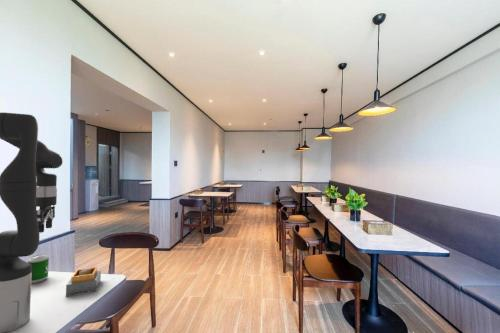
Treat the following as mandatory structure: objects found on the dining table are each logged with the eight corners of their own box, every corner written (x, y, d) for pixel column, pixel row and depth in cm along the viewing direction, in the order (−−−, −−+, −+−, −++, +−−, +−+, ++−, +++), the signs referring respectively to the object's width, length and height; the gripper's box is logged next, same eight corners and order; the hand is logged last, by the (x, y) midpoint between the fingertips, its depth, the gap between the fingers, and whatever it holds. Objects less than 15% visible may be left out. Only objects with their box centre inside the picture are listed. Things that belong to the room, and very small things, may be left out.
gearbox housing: (95, 291, 101) (96, 274, 101) (65, 296, 97) (66, 279, 97) (100, 280, 111) (101, 265, 111) (73, 285, 107) (74, 269, 107)
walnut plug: (89, 289, 103) (89, 271, 103) (77, 291, 101) (78, 273, 101) (91, 284, 107) (91, 268, 107) (80, 286, 105) (80, 269, 105)
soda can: (42, 283, 108) (43, 258, 108) (23, 285, 106) (24, 259, 106) (51, 276, 115) (52, 253, 116) (33, 278, 113) (34, 254, 113)
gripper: (49, 197, 99) (48, 233, 99) (61, 193, 112) (60, 226, 112) (27, 197, 96) (26, 235, 96) (42, 194, 109) (41, 227, 109)
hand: (44, 230), depth 104 cm, fingers open, 8 cm apart
